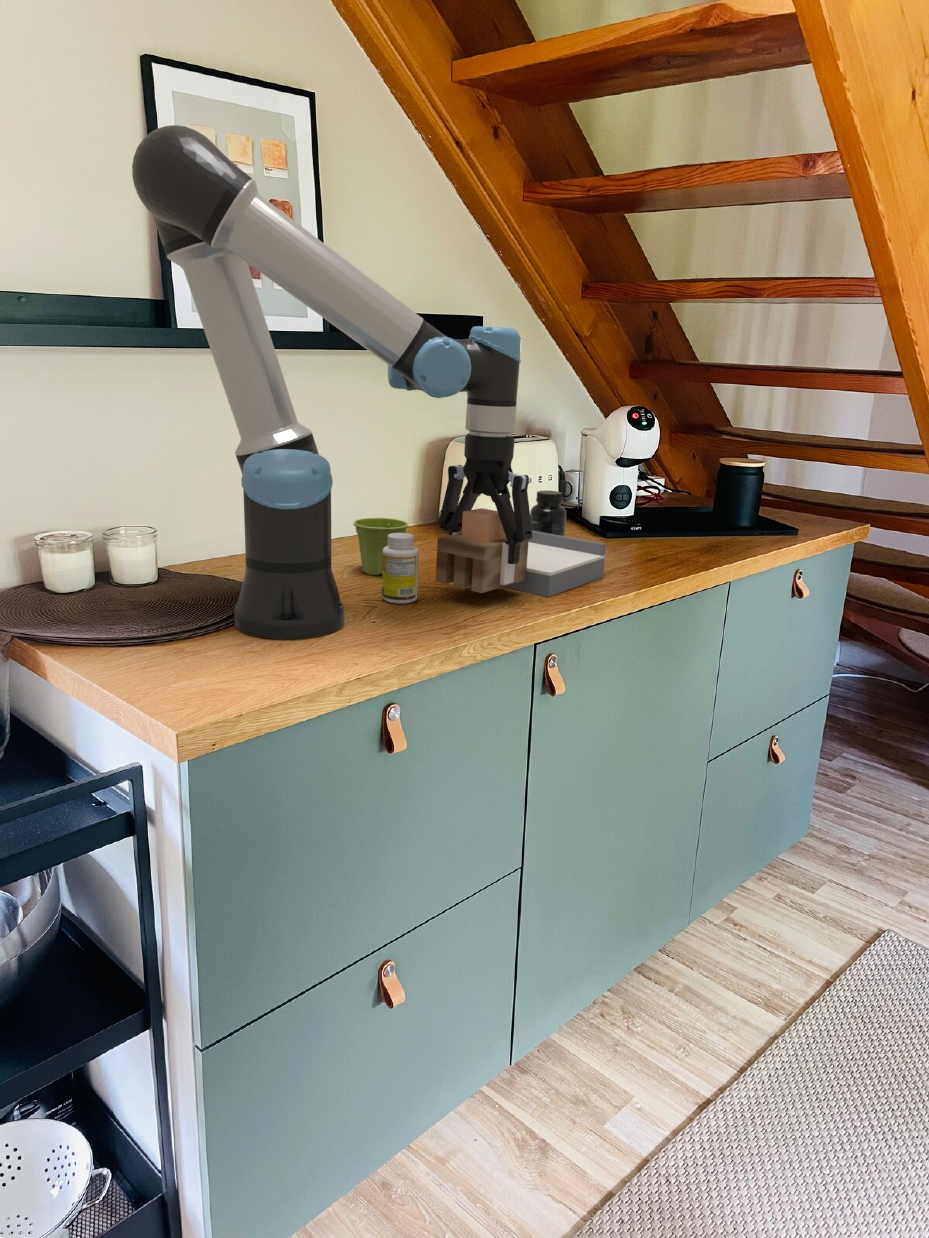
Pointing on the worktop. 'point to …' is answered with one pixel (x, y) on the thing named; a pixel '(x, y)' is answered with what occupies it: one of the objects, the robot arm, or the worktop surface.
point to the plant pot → (375, 540)
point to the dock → (560, 564)
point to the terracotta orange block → (482, 525)
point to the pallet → (475, 563)
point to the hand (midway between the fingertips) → (481, 577)
